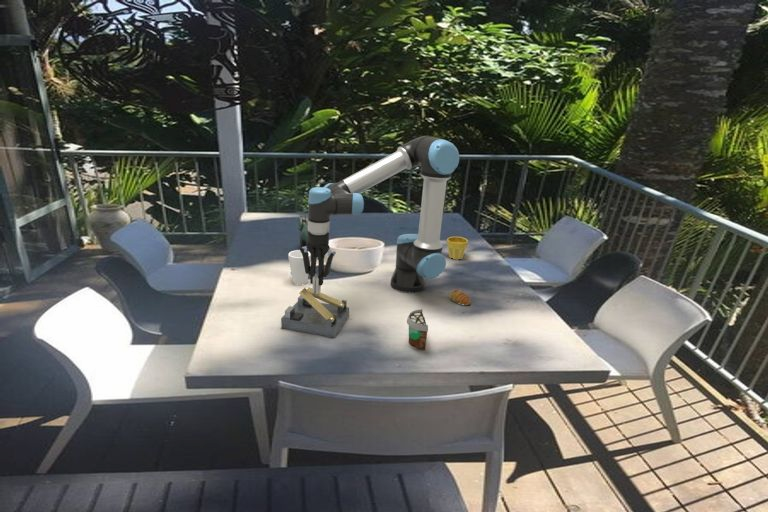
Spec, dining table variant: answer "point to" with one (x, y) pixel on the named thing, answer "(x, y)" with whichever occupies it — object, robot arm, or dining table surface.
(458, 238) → the plant pot
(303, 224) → the ceramic cat
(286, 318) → the base
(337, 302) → the bar
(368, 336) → the dining table surface
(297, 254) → the foam cup
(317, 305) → the latch bar front
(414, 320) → the iced coffee cup
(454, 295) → the pastry
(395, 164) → the robot arm
